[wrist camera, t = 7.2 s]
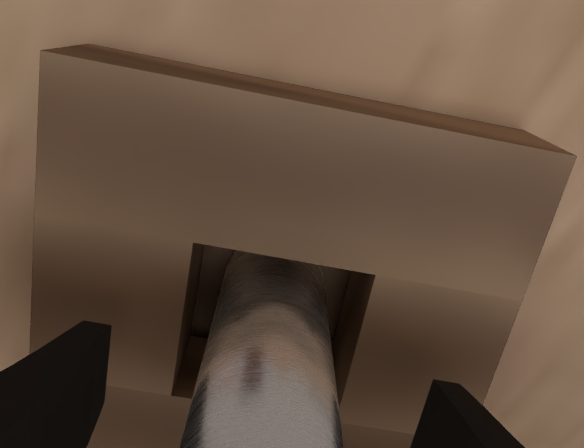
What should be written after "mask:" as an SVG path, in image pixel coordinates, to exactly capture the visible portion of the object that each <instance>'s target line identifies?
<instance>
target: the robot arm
mask: <svg viewBox="0 0 584 448" xmlns="http://www.w3.org/2000/svg"><path fill="white" fill-rule="evenodd" d="M111 328H112V325H108V324H102V323H96V322H90V321H85V320H83V321H82V322H80V323H78V324H77V325H75V326H74V327H72V328H71V329H69V330H67V331H66V332H64V333H63V334H61V335H60V336H58V337H56V338H55V339H53V340H52V341H50V342H49V343H47V344H46V345H44V346H42V347H41V348H39V349H38V350H36V351H35V352H33V353H31V354H30V355H28V356H26V357H25V358H23V359H22V360H20V361H18V362H17V363H15V364H13V365H12V366H10V367H8V368H6V369H4V370H3V371H1V372H0V448H86V447H87V445H88V443H89V441H90V438H91V436H92V433H93V431H94V428H95V426H96V423H97V421H98V418H99V415H100V413H101V410H102V408H103V405H104V402H105V392H106V381H107V370H108V360H109V349H110V338H111ZM410 448H525V447H524V446H523V445H521V444H520V443H519V442H518V441H517V440H516V439H515V438H514V437H513V436H512V435H511V434H510V433H509V432H508V431H507V430H506V429H505V428H504V427H503V426H502V425H501V424H500V423H499V422H498V421H497V420H496V419H495V418H494V417H493V416H492V415H491V414H490V413H489V412H488V410H487V409H486V408H485V407H484V406H483V405H482V404H481V403H480V402H479V401H478V400H477V399H476V398H475V397H473V396H472V395H471V394H470V393H469V392H468V391H467V390H466V389H465V388H464V387H463V386H462V385H460V384H459V383H453V382H447V381H441V380H435V379H433V381H432V384H431V387H430V390H429V393H428V396H427V399H426V402H425V405H424V408H423V411H422V414H421V417H420V420H419V423H418V426H417V429H416V432H415V435H414V438H413V441H412V444H411V447H410Z"/></svg>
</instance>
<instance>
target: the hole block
mask: <svg viewBox="0 0 584 448" xmlns="http://www.w3.org/2000/svg"><path fill="white" fill-rule="evenodd" d="M576 158H577V156H576V155H574V154H572V153H569V152H567V151H565V150H563V149H561V148H559V147H557V146H555V145H553V144H551V143H549V142H547V141H545V140H543V139H541V138H539V137H537V136H535V135H533V134H531V133H529V132H527V131H524V130H519V129H514V128H509V127H504V126H499V125H494V124H489V123H484V122H479V121H474V120H469V119H463V118H458V117H453V116H448V115H443V114H438V113H433V112H428V111H423V110H418V109H413V108H408V107H403V106H398V105H393V104H388V103H383V102H378V101H373V100H368V99H363V98H358V97H353V96H348V95H343V94H338V93H333V92H328V91H323V90H318V89H313V88H308V87H303V86H298V85H293V84H288V83H283V82H278V81H273V80H268V79H262V78H257V77H252V76H247V75H242V74H237V73H232V72H227V71H222V70H217V69H212V68H207V67H202V66H197V65H192V64H187V63H182V62H177V61H172V60H167V59H162V58H157V57H152V56H147V55H142V54H137V53H132V52H127V51H122V50H117V49H112V48H107V47H102V46H97V45H92V44H84V45H77V46H69V47H62V48H54V49H47V50H40V70H39V98H38V127H37V155H36V183H35V211H34V240H33V268H32V296H31V325H30V353H29V355H30V354H31V353H33V352H35V351H36V350H38V349H39V348H41V347H42V346H44V345H46V344H47V343H49V342H50V341H52V340H53V339H55V338H56V337H58V336H60V335H61V334H63V333H64V332H66V331H67V330H69V329H71V328H72V327H74V326H75V325H77V324H78V323H80V322H82V321H83V320H85V321H90V322H96V323H102V324H108V325H112V328H111V338H110V349H109V360H108V370H107V381H106V392H105V402H104V405H103V408H102V410H101V413H100V415H99V418H98V421H97V423H96V426H95V428H94V431H93V433H92V436H91V438H90V441H89V443H88V445H87V447H86V448H179V447H180V443H181V439H182V435H183V431H184V427H185V424H186V420H187V416H188V412H189V408H190V404H191V401H192V397H193V393H194V389H195V385H196V382H197V378H198V374H199V370H200V366H201V362H202V359H203V355H204V351H205V347H206V343H207V339H208V338H202V337H196V336H190V334H191V328H192V321H193V314H194V308H195V301H196V294H197V288H198V281H199V275H200V268H201V261H202V255H203V248H204V245H210V246H216V247H221V248H227V249H233V250H238V251H244V252H249V253H255V254H261V255H266V256H272V257H278V258H283V259H289V260H294V261H300V262H306V263H311V264H317V265H323V266H328V267H334V268H339V269H345V270H351V274H350V278H349V282H348V286H347V290H346V293H345V297H344V301H343V305H342V309H341V313H340V317H339V321H338V325H337V329H336V333H335V337H334V341H333V345H332V355H333V363H334V371H335V380H336V388H337V396H338V405H339V413H340V421H341V430H342V438H343V446H344V448H410V447H411V444H412V441H413V438H414V435H415V432H416V429H417V426H418V423H419V420H420V417H421V414H422V411H423V408H424V405H425V402H426V399H427V396H428V393H429V390H430V387H431V384H432V381H433V379H435V380H441V381H447V382H453V383H459V384H460V385H462V386H463V387H464V388H465V389H466V390H467V391H468V392H469V393H470V394H471V395H472V396H473V397H475V398H476V399H477V400H478V401H479V402H480V403H481V404H482V405H483V402H484V400H485V397H486V394H487V392H488V389H489V387H490V384H491V381H492V379H493V376H494V373H495V371H496V368H497V365H498V363H499V360H500V358H501V355H502V352H503V350H504V347H505V344H506V342H507V339H508V337H509V334H510V331H511V329H512V326H513V323H514V321H515V318H516V315H517V313H518V310H519V308H520V305H521V302H522V300H523V297H524V294H525V292H526V289H527V287H528V284H529V281H530V279H531V276H532V273H533V271H534V268H535V265H536V263H537V260H538V258H539V255H540V252H541V250H542V247H543V244H544V242H545V239H546V236H547V234H548V231H549V229H550V226H551V223H552V221H553V218H554V215H555V213H556V210H557V208H558V205H559V202H560V200H561V197H562V194H563V192H564V189H565V186H566V184H567V181H568V179H569V176H570V173H571V171H572V168H573V165H574V163H575V160H576Z"/></svg>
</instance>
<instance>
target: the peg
mask: <svg viewBox="0 0 584 448" xmlns="http://www.w3.org/2000/svg"><path fill="white" fill-rule="evenodd" d="M179 448H344V446H343V438H342V430H341V421H340V413H339V405H338V396H337V388H336V380H335V371H334V363H333V355H332V346H331V338H330V330H329V321H328V313H327V305H326V296H325V288H324V280H323V272H322V268H321V265H317V264H311V263H306V262H300V261H294V260H289V259H283V258H278V257H272V256H266V255H261V254H255V253H249V252H244V251H238V250H236V251H235V252H234V253H233V255H232V256H231V258H230V260H229V262H228V264H227V267H226V271H225V274H224V278H223V282H222V286H221V290H220V294H219V297H218V301H217V305H216V309H215V313H214V316H213V320H212V324H211V328H210V332H209V336H208V339H207V343H206V347H205V351H204V355H203V359H202V362H201V366H200V370H199V374H198V378H197V382H196V385H195V389H194V393H193V397H192V401H191V404H190V408H189V412H188V416H187V420H186V424H185V427H184V431H183V435H182V439H181V443H180V447H179Z"/></svg>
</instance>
